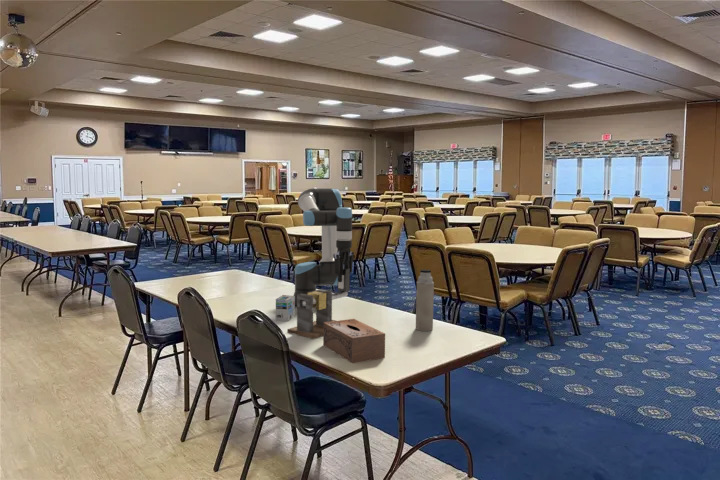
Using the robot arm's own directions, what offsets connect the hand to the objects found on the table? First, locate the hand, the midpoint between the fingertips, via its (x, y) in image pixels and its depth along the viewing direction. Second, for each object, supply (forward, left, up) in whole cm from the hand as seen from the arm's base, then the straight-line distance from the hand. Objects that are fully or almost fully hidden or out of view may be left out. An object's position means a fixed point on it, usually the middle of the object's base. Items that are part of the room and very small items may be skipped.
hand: (343, 287), depth 269 cm
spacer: (+19, 0, -7) cm, 21 cm away
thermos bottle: (-15, +37, -17) cm, 43 cm away
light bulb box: (+12, -27, -17) cm, 34 cm away
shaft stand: (+17, 0, -17) cm, 24 cm away
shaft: (+13, 0, -5) cm, 14 cm away
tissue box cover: (+34, +32, -18) cm, 50 cm away
